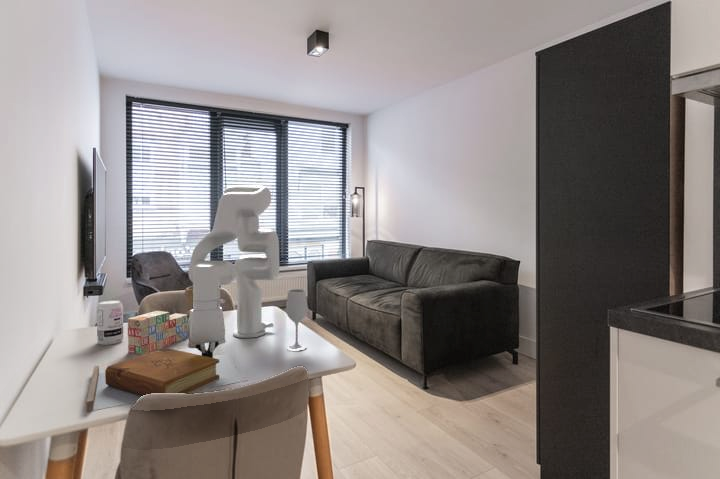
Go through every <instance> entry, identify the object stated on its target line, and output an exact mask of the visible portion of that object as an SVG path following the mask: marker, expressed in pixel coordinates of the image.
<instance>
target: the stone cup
mask: <svg viewBox="0 0 720 479" xmlns="http://www.w3.org/2000/svg"><path fill="white" fill-rule="evenodd" d="M184 294H185V295H184V296H185V298H186V300H187V303H188V304H189V310H188V311H187V312H185V314H186V315H188V316H189V315H190V310H192V309H193V285H191V286H188V287H186V288H185V290H184Z"/></svg>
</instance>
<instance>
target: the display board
mask: <svg viewBox="0 0 720 479" xmlns="http://www.w3.org/2000/svg"><path fill="white" fill-rule="evenodd" d="M213 358H215V359H219V363H217V364H216V374H217V375H219V379H216V380H214V381H212V382H210V383H208V384H206V385H204V386H202V387H199V388H197V389H195V390H193V391H191V392H195V391H202V390H206V389H211V388H212V389H213V388H217V387H222V386H227V385H231V384H237V383H241V382H247V381H248V379H247V377H246V376H245V375H244V373H243V372H242V371H241V370H240V369H239V367H238V366H237V364H236V363H235V361H234V360H233V358H232V357H231V356H230V355H229V354H228V353H224V354H223V353H222V354H217V355H213ZM90 379H91V380H90V384H89V390H88V394H87V399H86V411H87V412H89V413H90V412H95V411H98V410H99V411H100V410H105V409H111V408H115V407H120V406H126V405H130V404H136V403H137V402H136V401H137V400H138V399H139V398H140V397H141V396H140V395H137V394H134V393H130V392H127V391H124V390H121V389H117V388H114V387H111V386H108V385H107V384H106V378H105V372H103V373H100V366H99V365H95V366H93V370H92V375H91V378H90ZM191 392H190V393H191ZM135 402H136V403H135Z"/></svg>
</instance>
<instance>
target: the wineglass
mask: <svg viewBox="0 0 720 479" xmlns="http://www.w3.org/2000/svg"><path fill="white" fill-rule="evenodd" d="M285 311H286V315H287V317H288V318H289V319H290V320H291V321H292V322H293V323H294V325H295V343H294V344H291V345H292V346H290V345H289V348H291V349H297V348H301V347H302V346H301V345H302V344H299V340H298V338H299V337H298V336H299V334H298V332H299V323H300V322H301V321H302V320H303V319H305V317H306V316H307V314H308V299H307V292H306V290H305V289H298V288H296V289H295V288H294V289H288V292H287V296H286V305H285Z"/></svg>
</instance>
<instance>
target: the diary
mask: <svg viewBox="0 0 720 479" xmlns="http://www.w3.org/2000/svg"><path fill="white" fill-rule="evenodd" d="M217 363H219V359H215V358H211V357H206V356H202V354H200V355H199V354H197V353H193V352H187V351H182V350H178V349H174V348H169V347H162V348H160V349H157V350H154V351H151V352H148V353H146V354H143V355H139V356H136V357H135V356H134V357H132V358H130V359H126V360H123V361H119V362H116V363H113V364H110V365H108V366H107V367H106V369H105V372H104V373H105V378H106V384H107V385H108V386H111V387H114V388H117V389H121V390H124V391H127V392H130V393H134V394H137V395H140V396H143V395H146V394H151V393H187V394H188V393H191V391H192V392H194V391H193V390H195V389H197V388H199V387H202V386H204V385H206V384H208V383H210V382H212V381H214V380H216V379H219V375H217V374H216V364H217Z"/></svg>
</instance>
